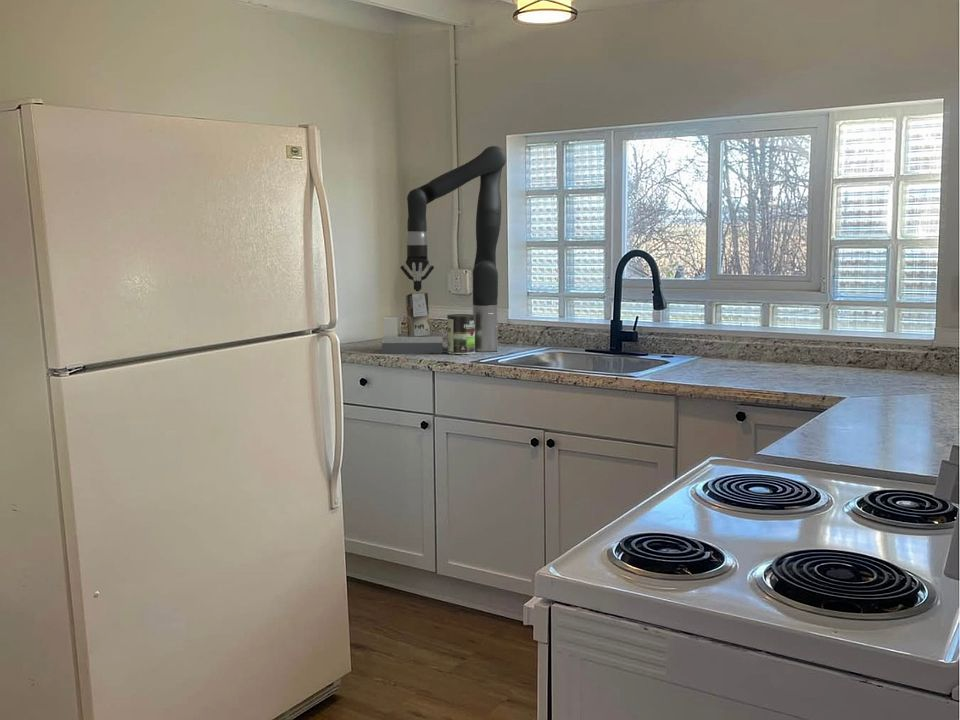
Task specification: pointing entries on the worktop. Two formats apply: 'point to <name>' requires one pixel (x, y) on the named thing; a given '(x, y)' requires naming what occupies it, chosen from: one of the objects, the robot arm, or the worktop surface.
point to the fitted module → (391, 326)
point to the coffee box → (417, 315)
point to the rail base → (412, 348)
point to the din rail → (414, 338)
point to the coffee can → (461, 334)
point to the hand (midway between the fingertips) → (417, 291)
